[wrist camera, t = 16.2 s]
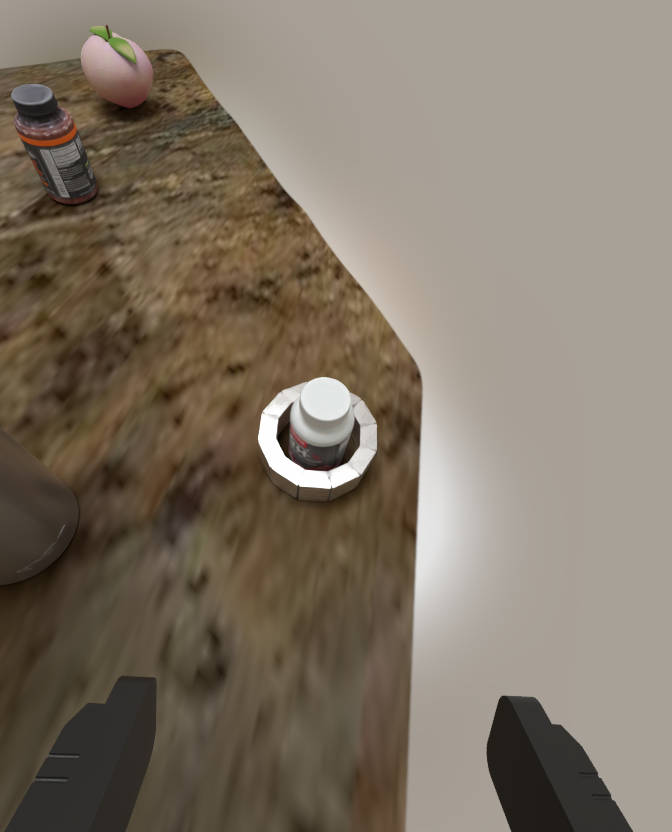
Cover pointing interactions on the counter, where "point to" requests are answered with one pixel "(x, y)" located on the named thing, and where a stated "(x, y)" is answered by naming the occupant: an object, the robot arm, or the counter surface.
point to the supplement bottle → (53, 145)
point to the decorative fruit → (116, 68)
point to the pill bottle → (320, 425)
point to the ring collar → (311, 481)
